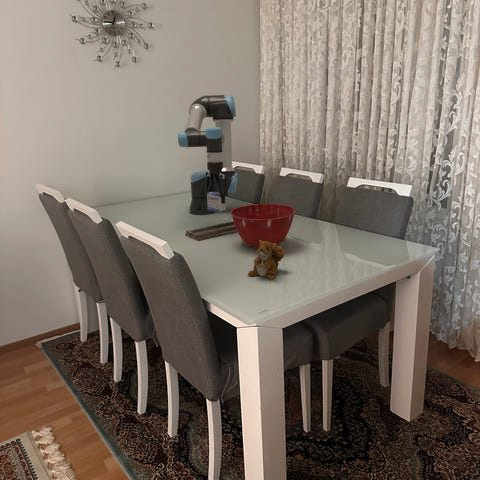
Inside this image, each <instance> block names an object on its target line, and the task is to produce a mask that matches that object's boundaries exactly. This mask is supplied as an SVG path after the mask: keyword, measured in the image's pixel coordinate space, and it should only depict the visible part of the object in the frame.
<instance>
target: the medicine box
mask: <svg viewBox="0 0 480 480" xmlns="http://www.w3.org/2000/svg"><path fill="white" fill-rule="evenodd" d="M219 196H220V194H219V192H209V193H207V201H208V211H215V212H220V213H221V212H224V211H226V210H227V205H226V204H227V203H226V202H227V201H226V200H227V199H226V197H227V196H225V210H221V211H220V206H219Z"/></svg>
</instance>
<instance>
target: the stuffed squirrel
mask: <svg viewBox="0 0 480 480" xmlns="http://www.w3.org/2000/svg"><path fill="white" fill-rule="evenodd" d="M275 245H276V243H270V242H268V241H262V240H260V245H259V248H257V251H255V252H254V253H255V254H256V256H257V255H258V256H257V257H255V258H254V259H253V264H254V265H253V270H250V271H248V273H247V276H248V277H255V276H259V277H264V278H266V279H268V280H270V281H272V280H274V279H275V278H276V277H277V275H278V273H277V269H279V268H278V267H279V262H281V261H282V260H283V259H284V257H285V256H286V253H285V250H286V249H284V248H283V247H282V246H280V245H277V246H275Z"/></svg>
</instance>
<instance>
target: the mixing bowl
mask: <svg viewBox="0 0 480 480" xmlns="http://www.w3.org/2000/svg"><path fill="white" fill-rule="evenodd" d="M295 214H296V209H295V208H294V207H292V206H289V205H285V204H279V203H255V204H247V205H243V206H242V205H241V206H238V207H235V208H233V209H231V210H230V215H231V217H232V221H234V224H235V227H236V229H237V231H238V232H237V233H238V235H239V237H240V239H241V241H242V242H244V244H246V245H247V246H250V247H251V248H254V249H259V245H260V240H262V241H268V242H270V243H276V245H275V246H279V245H280V244H282V243H283V242H284V241H285V239H286V237H287V236H288V234H289V231H290V230H291V229H290V228H291V226H292V224H293V221H294V220H293V219H294V216H295Z"/></svg>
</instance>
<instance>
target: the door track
mask: <svg viewBox="0 0 480 480" xmlns="http://www.w3.org/2000/svg"><path fill="white" fill-rule="evenodd" d="M235 233H238V231H237V229H236V227H235V224H234V221H233V220H232V221H228V222H222V223H219V224H213V225H208V226H204V227H200V228H199V227H198V228H194V229H191V230H186V231H185V234H184V236H186V237H188V238H191V239H192V240H195V241H197V242H201V241H204V240H209V239H212V238H214V239H215V238H217V237H222V236H226V235H231V234H235Z"/></svg>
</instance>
